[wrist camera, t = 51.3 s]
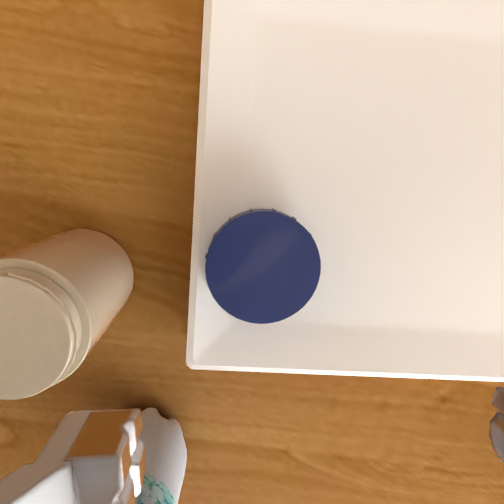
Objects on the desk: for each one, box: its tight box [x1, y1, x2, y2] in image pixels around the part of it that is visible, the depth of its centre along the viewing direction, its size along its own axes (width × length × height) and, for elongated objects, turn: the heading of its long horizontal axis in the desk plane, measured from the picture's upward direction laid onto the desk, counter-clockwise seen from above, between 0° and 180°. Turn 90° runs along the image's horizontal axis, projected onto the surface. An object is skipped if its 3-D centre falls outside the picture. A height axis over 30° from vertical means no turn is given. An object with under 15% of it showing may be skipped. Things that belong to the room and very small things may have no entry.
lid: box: [205, 208, 321, 324], centre depth 25 cm, size 7×7×2 cm
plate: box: [186, 0, 504, 382], centre depth 26 cm, size 26×26×2 cm
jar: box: [0, 229, 134, 400], centre depth 22 cm, size 7×7×10 cm
